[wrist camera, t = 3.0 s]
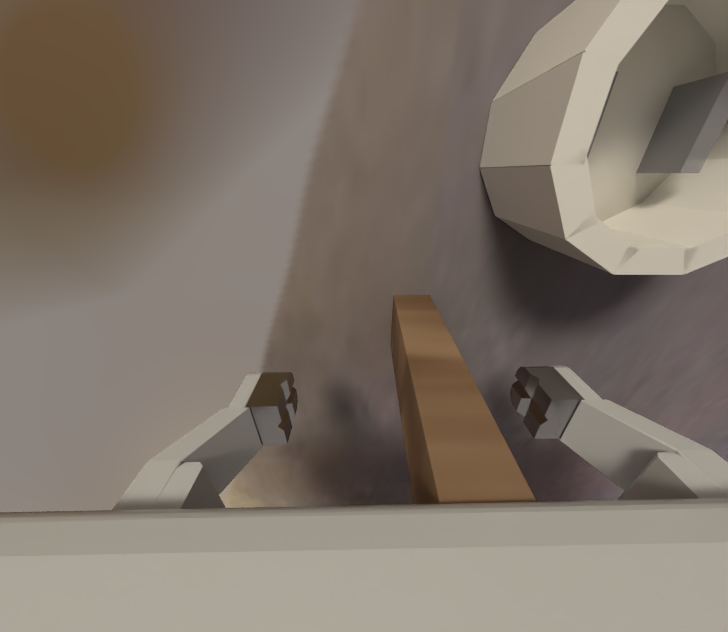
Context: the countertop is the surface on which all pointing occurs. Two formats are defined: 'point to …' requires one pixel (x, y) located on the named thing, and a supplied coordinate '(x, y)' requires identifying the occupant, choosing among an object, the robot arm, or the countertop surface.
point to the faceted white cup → (618, 136)
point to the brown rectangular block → (446, 416)
